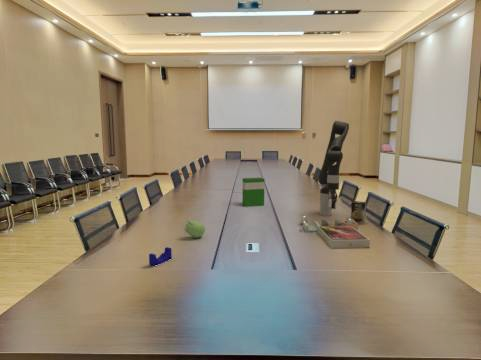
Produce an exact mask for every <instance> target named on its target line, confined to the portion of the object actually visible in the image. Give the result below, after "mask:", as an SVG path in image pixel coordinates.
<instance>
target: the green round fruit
mask: <svg viewBox="0 0 481 360" xmlns="http://www.w3.org/2000/svg"><path fill="white" fill-rule="evenodd" d="M186 222H187V223H186V224H185V227H183V229H184V231H185V233H187V235H189V236H191V237H192V238H194V239H197V238H198V239H199V238H201V237H203V235H204V234H205V232H206V227H205V225H204V224H203V223H201V222H199V221H197V220H190V221H189V220H186Z"/></svg>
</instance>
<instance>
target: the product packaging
mask: <svg viewBox="0 0 481 360" xmlns="http://www.w3.org/2000/svg"><path fill="white" fill-rule="evenodd" d="M316 233H317V234H318V236H319V237H320V238H321V239H322V240H323V241H324V242H325V243H326V244H327V245H328V246H329V248H331V249H360V248H361V249H363V248H365V247H369V248H370V243H371V239H369V237H367V236H365V235H364V234H363V233H361V232H360V231H357V230H356V229H354V228H353V227H352V226H321V225H320V226H317V232H316ZM365 249H366V248H365Z"/></svg>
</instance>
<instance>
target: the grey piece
mask: <svg viewBox="0 0 481 360" xmlns="http://www.w3.org/2000/svg"><path fill="white" fill-rule="evenodd" d="M328 224H329V222H328V221H327V220H326V219H321V224H320V223H319V222H318V221H317V220H316V221H314V225H309V224H308V222H307V223H306V221H303V225H302V229H303V231H304V232H305V233H317V226H328ZM334 224H335V225H336V226H352V227H353V228H354V229H356V230H357V231H358V232H360V231H362V229H360V228H359V224H357V223H356V222H355V221H354V223H353V224H346V220H341V221H340V219H334Z"/></svg>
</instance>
